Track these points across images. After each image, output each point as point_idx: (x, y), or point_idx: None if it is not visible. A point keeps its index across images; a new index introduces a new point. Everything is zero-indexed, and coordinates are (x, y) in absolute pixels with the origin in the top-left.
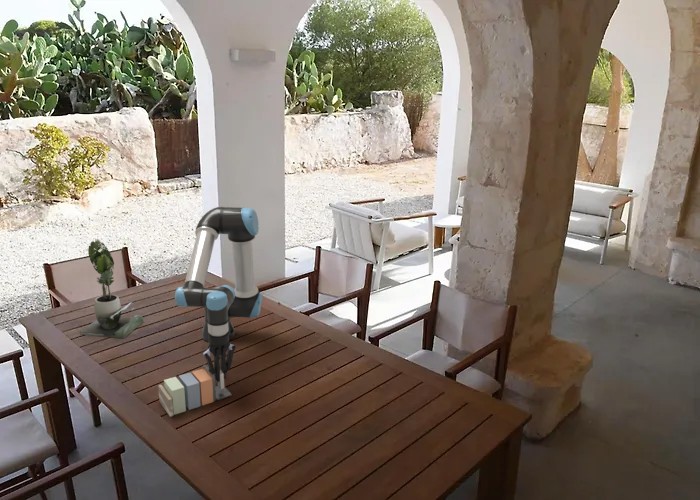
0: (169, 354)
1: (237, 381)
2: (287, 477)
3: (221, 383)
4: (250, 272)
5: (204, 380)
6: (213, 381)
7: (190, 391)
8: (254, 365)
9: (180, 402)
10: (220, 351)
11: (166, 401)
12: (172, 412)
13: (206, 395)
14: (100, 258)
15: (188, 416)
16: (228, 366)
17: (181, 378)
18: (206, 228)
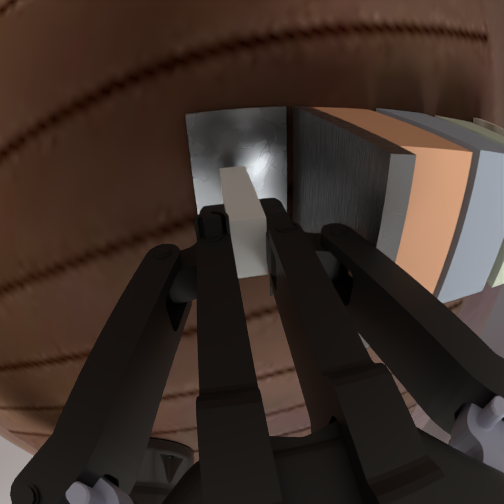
0: (293, 427)
1: (118, 247)
2: None
3: (243, 180)
4: None
5: (448, 156)
6: (367, 133)
7: (485, 141)
8: (43, 327)
9: (485, 132)
10: (323, 502)
11: None
12: (486, 122)
13: (369, 117)
14: None
15: (441, 70)
16: (164, 268)
17: (494, 259)
18: None
